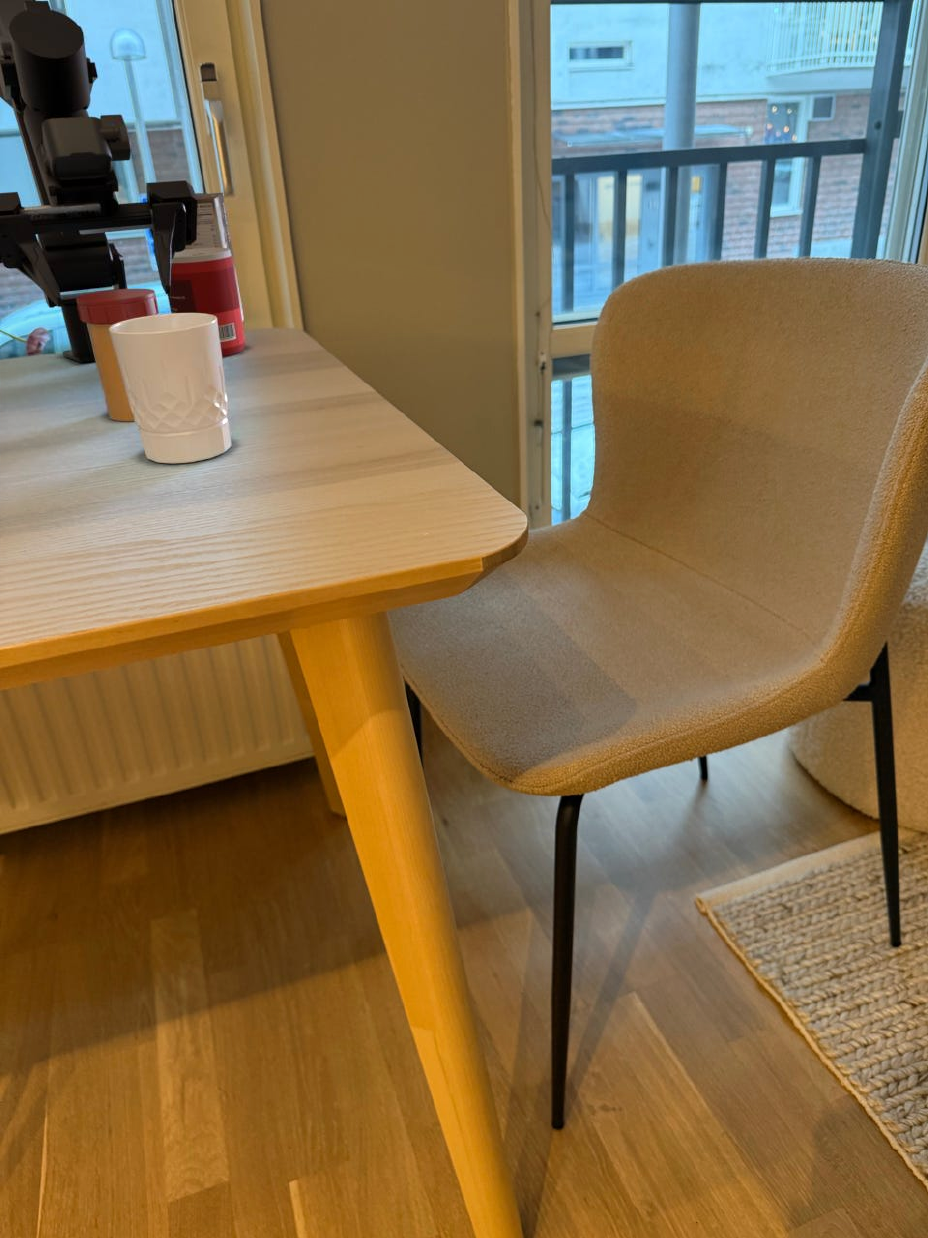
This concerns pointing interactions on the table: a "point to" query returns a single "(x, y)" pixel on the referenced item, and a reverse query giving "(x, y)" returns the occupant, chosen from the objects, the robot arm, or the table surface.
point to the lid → (117, 305)
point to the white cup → (175, 384)
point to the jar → (109, 373)
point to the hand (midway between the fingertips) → (115, 297)
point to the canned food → (209, 292)
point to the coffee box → (213, 227)
